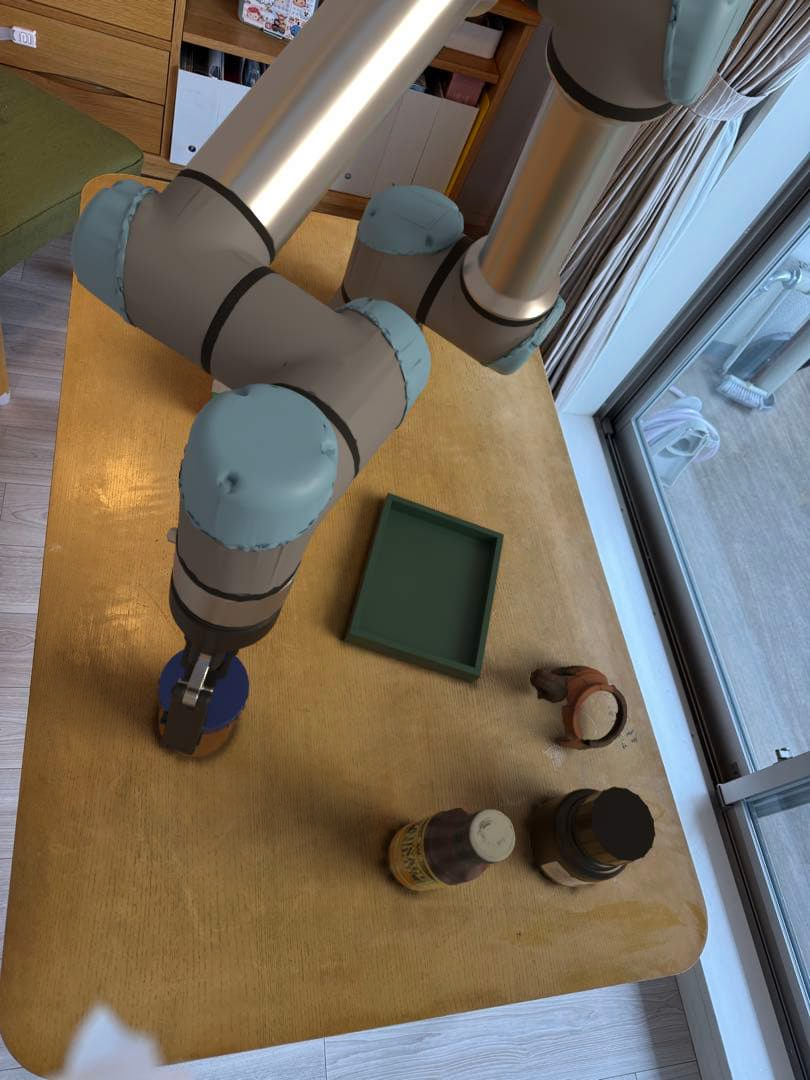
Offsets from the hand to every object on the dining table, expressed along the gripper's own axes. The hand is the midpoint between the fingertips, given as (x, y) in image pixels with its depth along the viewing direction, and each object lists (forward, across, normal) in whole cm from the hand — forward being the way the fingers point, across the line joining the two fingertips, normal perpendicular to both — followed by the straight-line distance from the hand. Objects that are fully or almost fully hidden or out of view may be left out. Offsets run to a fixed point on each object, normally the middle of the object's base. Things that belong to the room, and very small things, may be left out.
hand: (203, 689), depth 69 cm
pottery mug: (+10, -14, +39) cm, 43 cm away
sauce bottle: (+11, +7, +25) cm, 28 cm away
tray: (+10, -23, +20) cm, 32 cm away
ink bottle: (+11, +1, +41) cm, 42 cm away
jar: (+10, 0, 0) cm, 10 cm away
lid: (0, 0, 0) cm, 0 cm away
